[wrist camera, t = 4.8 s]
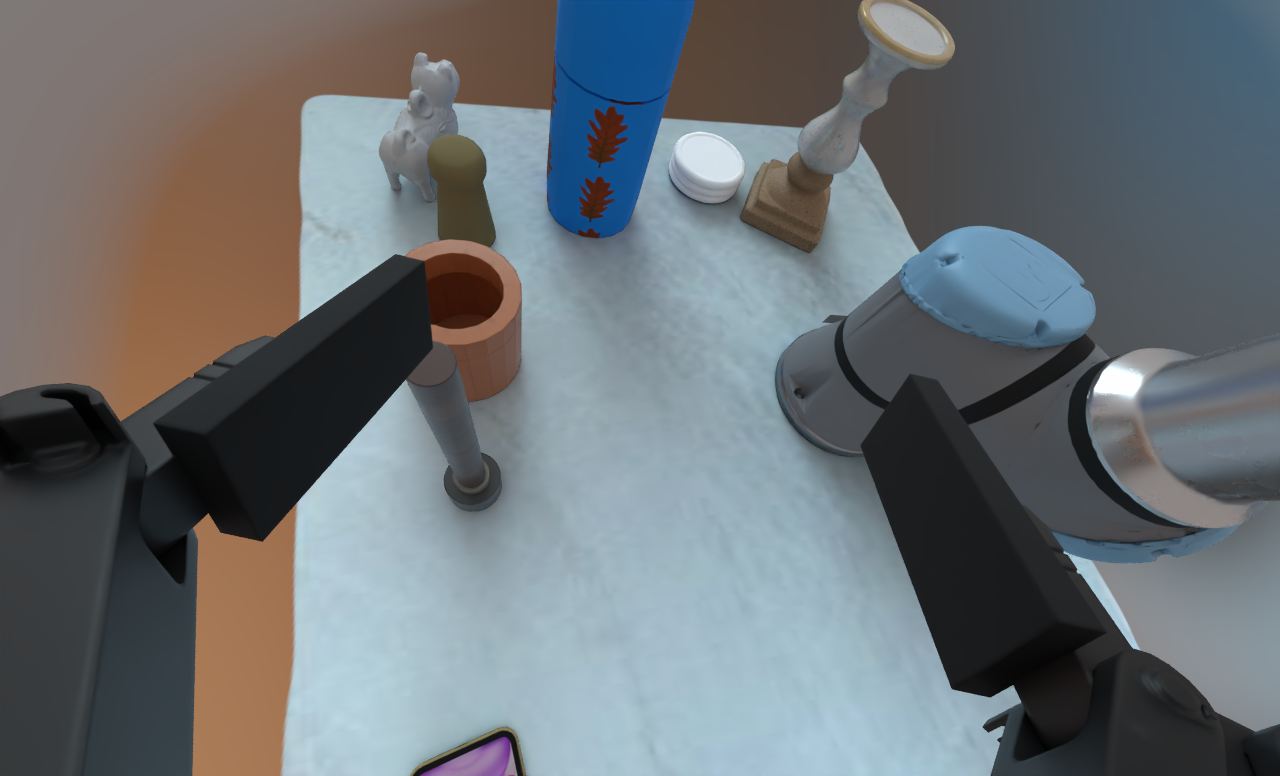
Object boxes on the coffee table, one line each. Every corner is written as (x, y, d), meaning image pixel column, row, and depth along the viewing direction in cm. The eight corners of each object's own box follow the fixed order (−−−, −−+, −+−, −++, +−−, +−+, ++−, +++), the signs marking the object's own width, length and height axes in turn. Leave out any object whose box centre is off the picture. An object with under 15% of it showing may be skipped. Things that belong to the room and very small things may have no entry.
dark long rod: (512, 478, 42) (504, 353, 21) (480, 521, 40) (437, 431, 19) (470, 452, 42) (422, 301, 21) (437, 494, 40) (345, 373, 19)
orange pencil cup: (540, 347, 48) (545, 282, 38) (479, 420, 43) (468, 368, 34) (460, 297, 48) (446, 220, 38) (392, 365, 44) (355, 297, 34)
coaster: (705, 144, 67) (714, 122, 64) (749, 192, 65) (760, 171, 62) (653, 163, 63) (660, 140, 60) (698, 214, 61) (707, 194, 58)
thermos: (543, 232, 54) (560, -23, 32) (546, 166, 58) (564, -99, 36) (634, 244, 56) (708, 15, 34) (631, 180, 61) (695, -60, 39)
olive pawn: (427, 240, 50) (405, 153, 40) (454, 204, 53) (439, 114, 43) (480, 262, 50) (471, 181, 41) (504, 225, 53) (501, 140, 43)
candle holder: (757, 170, 68) (865, -25, 46) (824, 203, 68) (961, 24, 47) (738, 219, 63) (851, 25, 41) (811, 254, 63) (958, 79, 42)
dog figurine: (477, 141, 57) (469, 51, 48) (430, 211, 52) (411, 124, 42) (435, 125, 57) (418, 30, 47) (382, 194, 51) (352, 101, 42)
